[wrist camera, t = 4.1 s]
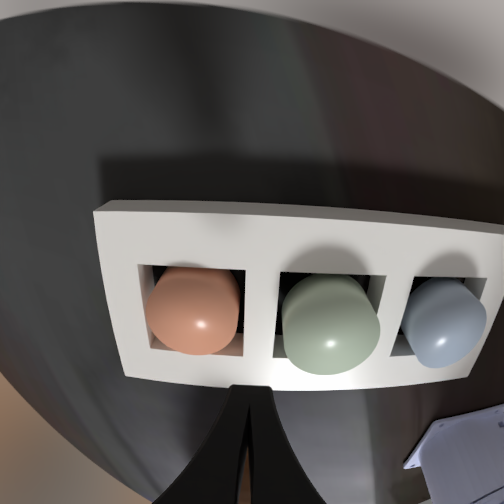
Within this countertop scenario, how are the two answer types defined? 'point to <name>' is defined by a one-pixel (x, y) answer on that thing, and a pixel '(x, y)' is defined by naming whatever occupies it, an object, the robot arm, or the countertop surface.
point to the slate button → (442, 321)
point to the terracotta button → (194, 309)
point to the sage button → (328, 324)
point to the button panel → (268, 275)
